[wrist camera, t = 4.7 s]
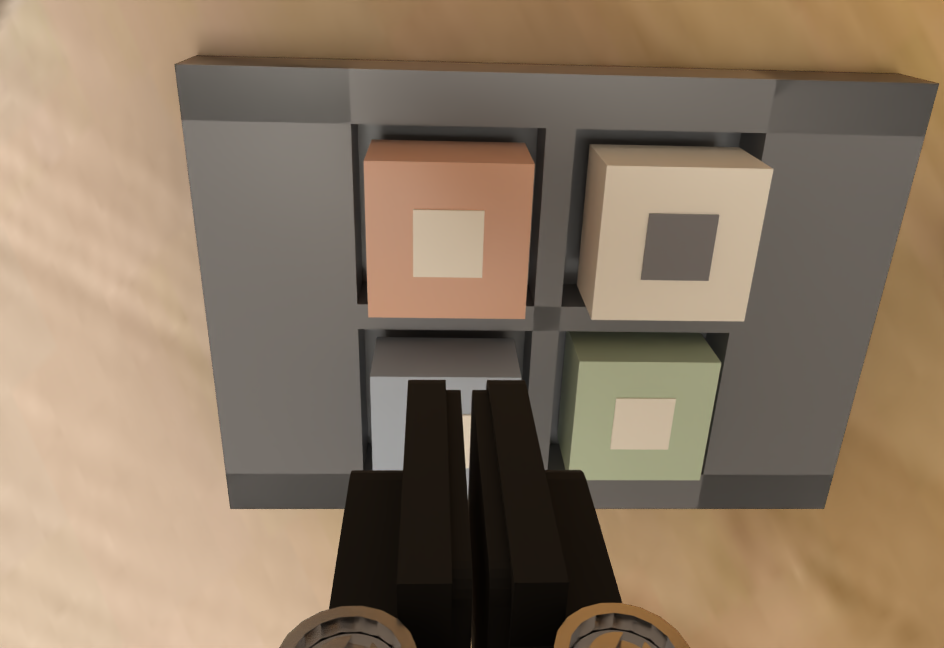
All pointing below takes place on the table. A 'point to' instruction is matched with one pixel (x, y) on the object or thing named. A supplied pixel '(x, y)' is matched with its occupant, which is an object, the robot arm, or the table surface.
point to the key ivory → (670, 232)
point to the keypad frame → (536, 253)
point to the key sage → (636, 404)
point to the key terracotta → (447, 228)
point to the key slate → (430, 360)
